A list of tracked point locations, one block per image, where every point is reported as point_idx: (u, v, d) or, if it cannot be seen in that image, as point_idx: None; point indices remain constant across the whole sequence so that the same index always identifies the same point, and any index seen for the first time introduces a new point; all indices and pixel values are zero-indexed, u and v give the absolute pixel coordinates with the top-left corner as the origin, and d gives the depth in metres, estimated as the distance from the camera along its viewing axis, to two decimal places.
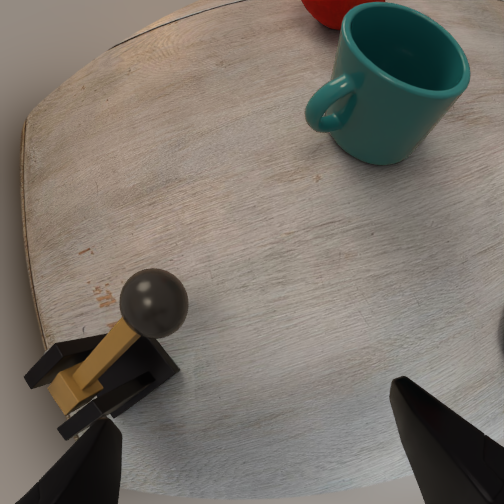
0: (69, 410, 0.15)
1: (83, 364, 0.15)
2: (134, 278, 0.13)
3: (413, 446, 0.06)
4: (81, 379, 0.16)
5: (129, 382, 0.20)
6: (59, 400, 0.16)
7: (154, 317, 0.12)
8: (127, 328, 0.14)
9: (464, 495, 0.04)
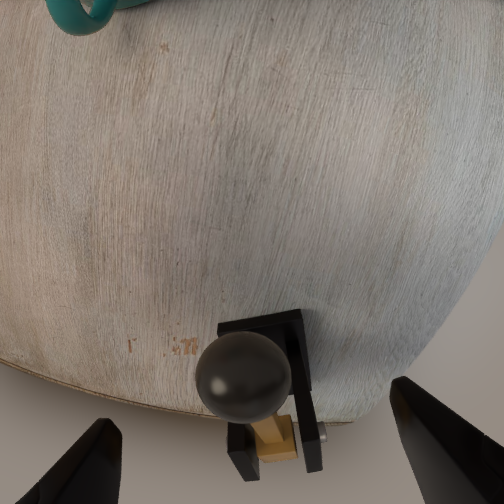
0: (296, 455, 0.16)
1: (262, 437, 0.14)
2: (205, 400, 0.09)
3: (413, 446, 0.06)
4: (274, 440, 0.15)
5: (293, 378, 0.19)
6: (281, 459, 0.16)
7: (268, 403, 0.09)
8: None
9: (464, 495, 0.04)
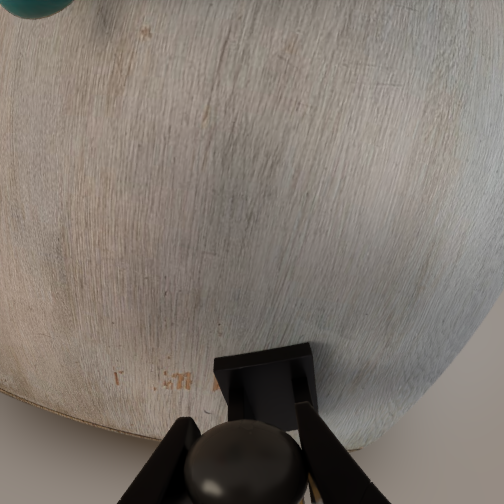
0: None
1: None
2: None
3: (309, 475, 0.07)
4: None
5: None
6: None
7: None
8: None
9: None
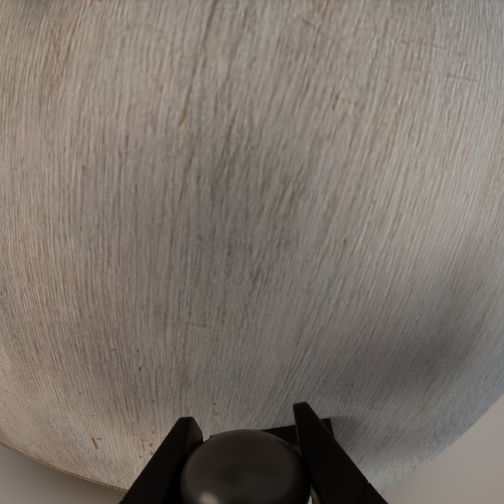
0: None
1: None
2: (187, 503, 0.05)
3: None
4: None
5: None
6: None
7: None
8: None
9: None
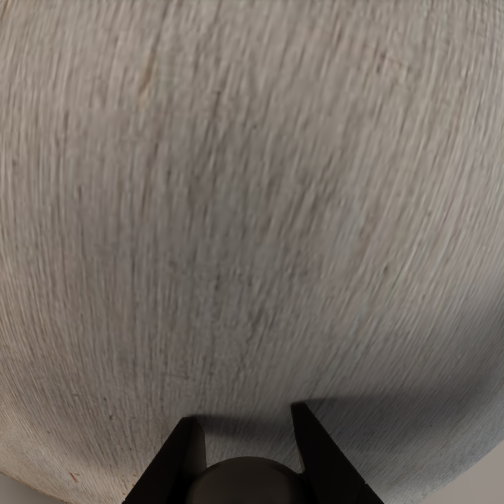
0: None
1: None
2: None
3: (304, 475, 0.07)
4: None
5: None
6: None
7: None
8: None
9: None
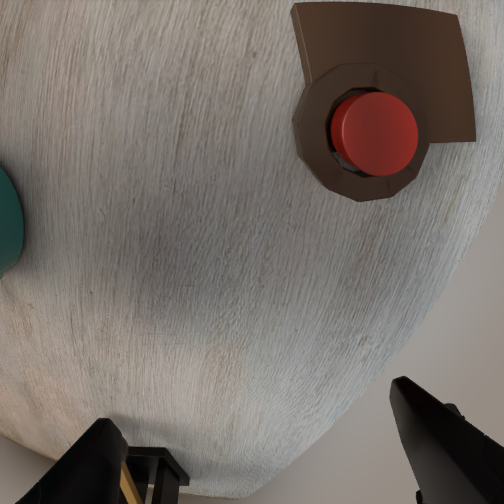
0: None
1: (128, 502, 0.21)
2: None
3: (413, 446, 0.06)
4: None
5: (153, 492, 0.23)
6: None
7: None
8: None
9: (464, 495, 0.04)
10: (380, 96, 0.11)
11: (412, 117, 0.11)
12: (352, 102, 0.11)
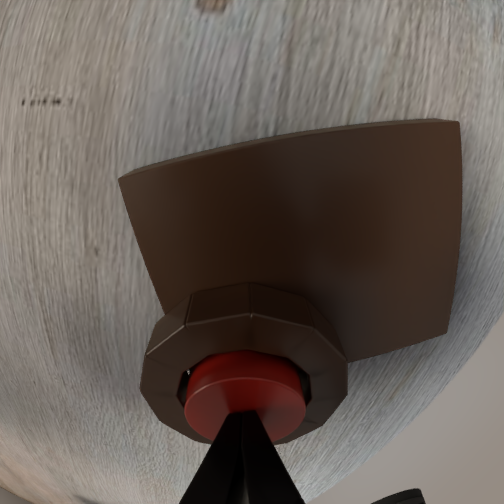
0: None
1: None
2: None
3: None
4: None
5: None
6: None
7: None
8: None
9: None
10: (236, 384, 0.08)
11: (295, 396, 0.08)
12: (194, 389, 0.08)
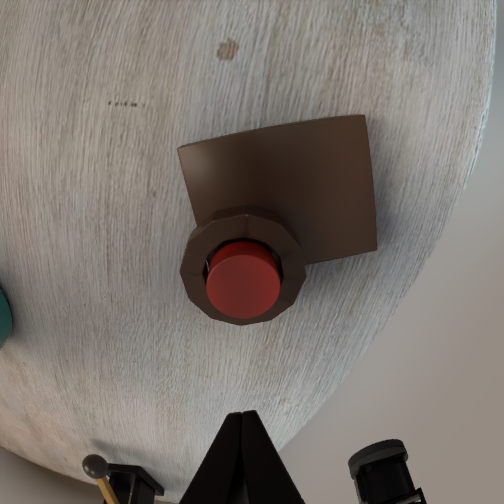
0: None
1: None
2: (82, 464, 0.25)
3: None
4: None
5: (131, 501, 0.27)
6: None
7: (94, 468, 0.25)
8: (99, 480, 0.26)
9: None
10: (238, 259, 0.15)
11: (273, 271, 0.15)
12: (214, 266, 0.15)
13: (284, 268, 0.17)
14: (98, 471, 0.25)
